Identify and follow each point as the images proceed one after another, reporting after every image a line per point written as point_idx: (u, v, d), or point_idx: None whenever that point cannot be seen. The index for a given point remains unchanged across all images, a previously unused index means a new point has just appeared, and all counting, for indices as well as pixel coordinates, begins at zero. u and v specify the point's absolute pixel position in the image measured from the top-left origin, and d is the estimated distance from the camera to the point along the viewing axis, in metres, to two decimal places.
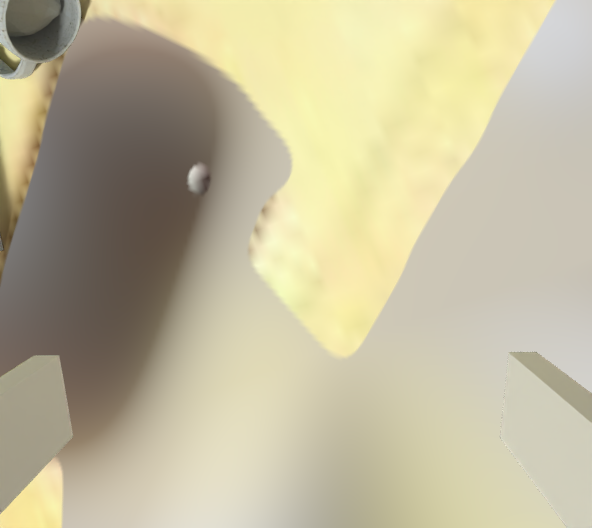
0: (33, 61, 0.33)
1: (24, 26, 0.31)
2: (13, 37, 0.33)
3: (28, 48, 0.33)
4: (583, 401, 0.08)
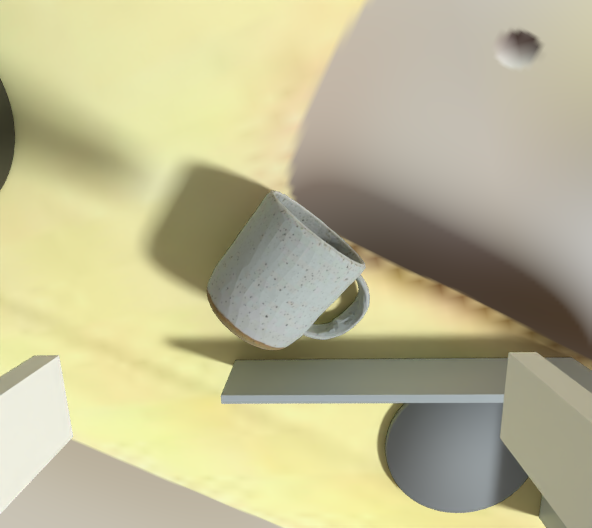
0: (361, 259, 0.24)
1: None
2: None
3: None
4: (583, 401, 0.08)
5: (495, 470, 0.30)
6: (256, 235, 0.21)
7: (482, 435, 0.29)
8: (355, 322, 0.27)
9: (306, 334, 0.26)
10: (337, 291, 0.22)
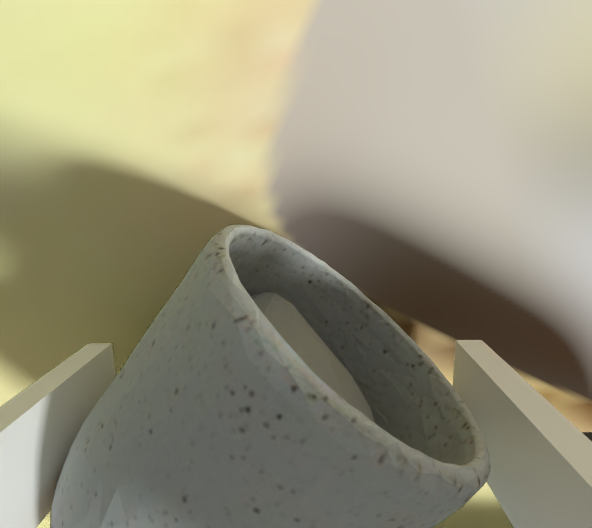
0: (455, 391, 0.10)
1: (360, 398, 0.09)
2: None
3: (391, 402, 0.11)
4: (509, 381, 0.09)
5: None
6: (160, 384, 0.06)
7: None
8: None
9: None
10: None
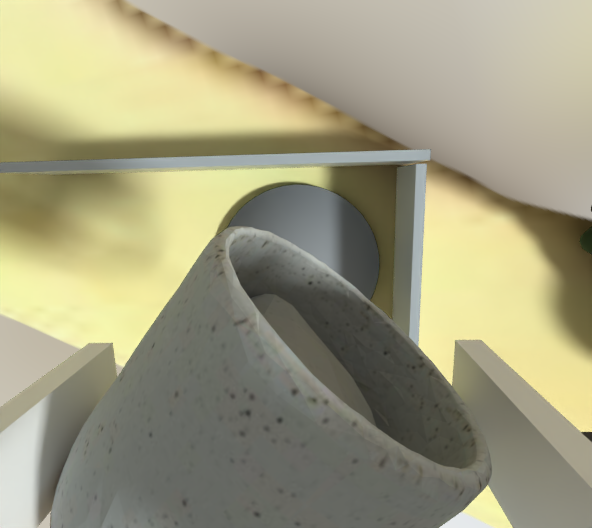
0: (456, 393, 0.10)
1: (360, 400, 0.09)
2: None
3: (392, 403, 0.11)
4: (508, 381, 0.09)
5: None
6: (160, 387, 0.06)
7: (318, 247, 0.27)
8: None
9: None
10: None
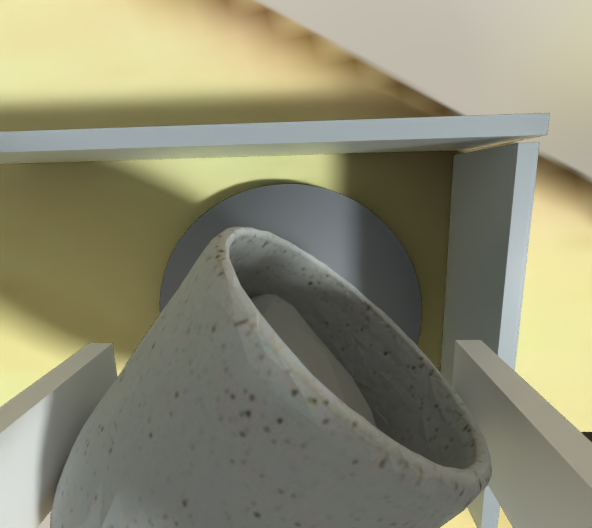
0: (456, 393, 0.10)
1: (360, 400, 0.09)
2: None
3: (392, 404, 0.11)
4: (508, 381, 0.09)
5: None
6: (160, 388, 0.06)
7: None
8: None
9: None
10: None
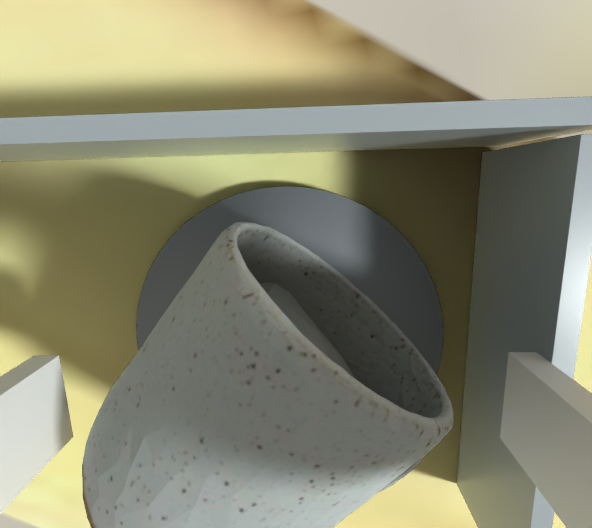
0: (431, 369, 0.11)
1: None
2: None
3: (377, 379, 0.12)
4: (583, 401, 0.08)
5: None
6: (181, 351, 0.08)
7: None
8: (405, 471, 0.14)
9: None
10: None
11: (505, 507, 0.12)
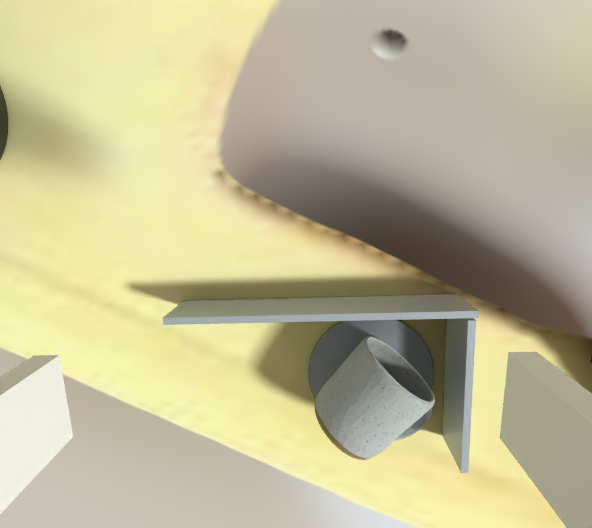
0: (428, 387, 0.33)
1: None
2: None
3: (409, 390, 0.34)
4: (583, 401, 0.08)
5: None
6: (360, 383, 0.29)
7: None
8: (420, 427, 0.35)
9: None
10: (416, 420, 0.30)
11: (456, 436, 0.33)
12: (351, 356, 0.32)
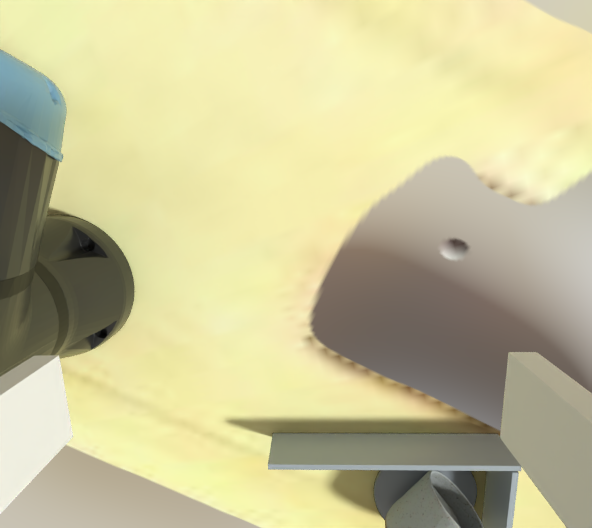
0: (477, 514, 0.41)
1: (455, 517, 0.41)
2: None
3: (460, 513, 0.42)
4: (583, 401, 0.08)
5: None
6: (429, 524, 0.37)
7: None
8: None
9: None
10: None
11: None
12: (418, 493, 0.40)
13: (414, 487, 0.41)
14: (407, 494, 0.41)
